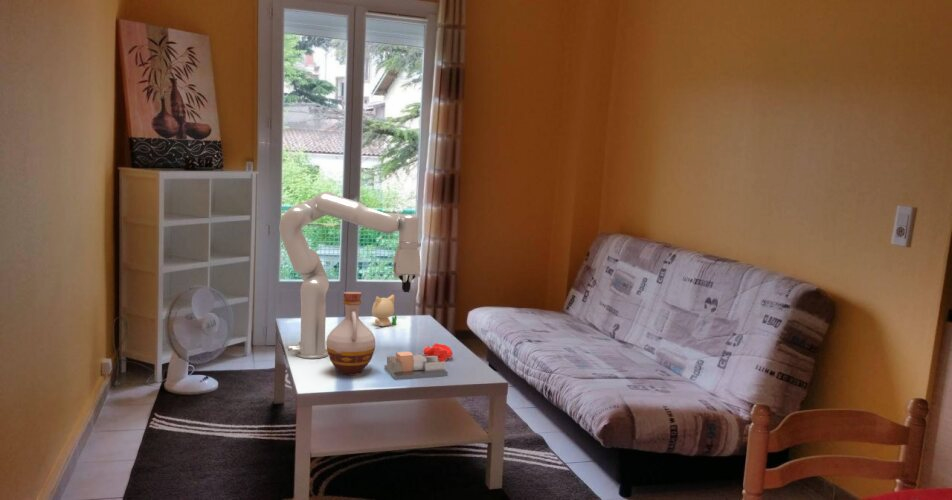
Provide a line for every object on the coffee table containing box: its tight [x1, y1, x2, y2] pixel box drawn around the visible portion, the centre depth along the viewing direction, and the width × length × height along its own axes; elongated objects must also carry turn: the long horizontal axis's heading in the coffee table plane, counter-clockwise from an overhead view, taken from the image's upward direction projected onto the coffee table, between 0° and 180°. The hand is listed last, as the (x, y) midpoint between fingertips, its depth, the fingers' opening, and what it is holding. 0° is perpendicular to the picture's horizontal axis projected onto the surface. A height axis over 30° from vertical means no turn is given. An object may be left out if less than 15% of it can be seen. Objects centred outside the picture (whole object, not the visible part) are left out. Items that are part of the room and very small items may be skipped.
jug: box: [325, 291, 376, 376], centre depth 260 cm, size 20×18×30 cm
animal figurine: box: [422, 342, 453, 362], centre depth 289 cm, size 12×15×5 cm
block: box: [395, 351, 415, 372], centre depth 264 cm, size 5×5×6 cm
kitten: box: [371, 294, 397, 327], centre depth 338 cm, size 15×10×15 cm
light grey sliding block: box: [413, 354, 427, 370], centre depth 266 cm, size 5×6×4 cm
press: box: [384, 355, 448, 381], centre depth 266 cm, size 20×14×6 cm
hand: (406, 291), depth 283 cm, fingers closed
